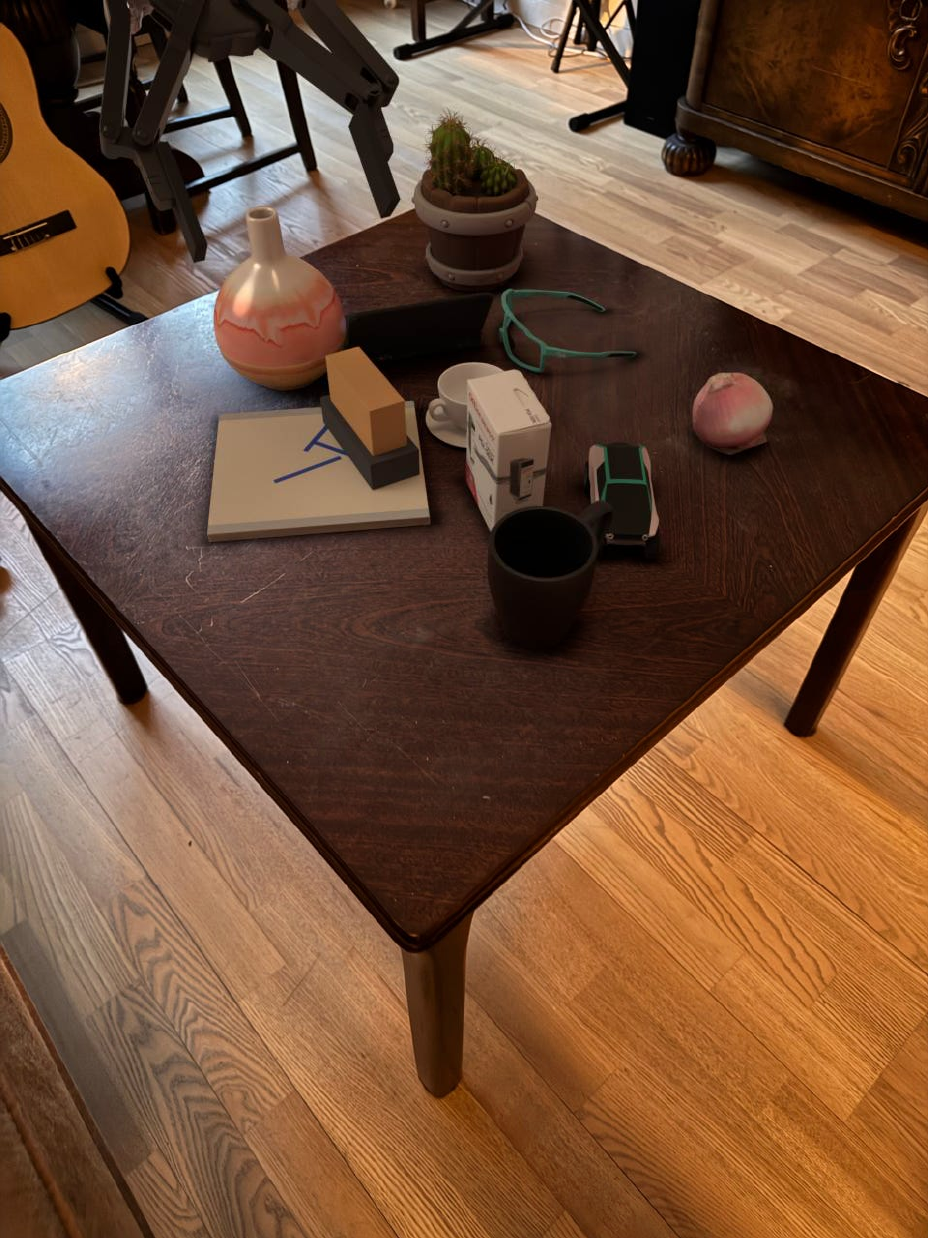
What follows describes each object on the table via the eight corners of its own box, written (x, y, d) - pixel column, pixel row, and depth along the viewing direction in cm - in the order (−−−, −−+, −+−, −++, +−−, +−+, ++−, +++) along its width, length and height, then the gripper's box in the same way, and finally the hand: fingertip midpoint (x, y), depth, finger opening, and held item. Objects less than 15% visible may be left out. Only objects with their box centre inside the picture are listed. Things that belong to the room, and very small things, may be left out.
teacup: (492, 384, 94) (493, 345, 91) (539, 434, 89) (543, 395, 85) (409, 409, 91) (407, 370, 88) (453, 463, 86) (452, 423, 82)
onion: (701, 408, 92) (716, 348, 86) (773, 430, 89) (793, 369, 84) (675, 450, 87) (690, 389, 82) (751, 474, 85) (771, 412, 79)
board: (209, 542, 78) (206, 533, 77) (221, 421, 90) (219, 413, 89) (430, 524, 80) (429, 516, 79) (413, 408, 92) (413, 400, 91)
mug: (635, 604, 73) (654, 521, 66) (535, 680, 68) (544, 598, 61) (564, 553, 77) (575, 469, 70) (464, 622, 72) (465, 538, 65)
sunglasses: (480, 318, 103) (485, 278, 100) (596, 313, 107) (605, 274, 103) (515, 384, 94) (522, 342, 91) (640, 377, 98) (651, 336, 94)
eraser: (372, 490, 81) (366, 419, 75) (322, 422, 88) (313, 352, 82) (420, 474, 83) (417, 403, 77) (367, 408, 90) (361, 338, 84)
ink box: (463, 480, 84) (463, 374, 75) (510, 470, 85) (516, 365, 76) (492, 540, 79) (497, 433, 70) (543, 528, 80) (553, 422, 71)
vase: (218, 351, 99) (180, 191, 85) (336, 332, 101) (318, 174, 88) (235, 421, 90) (196, 256, 77) (363, 398, 93) (347, 234, 79)
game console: (459, 307, 105) (460, 233, 98) (494, 368, 96) (497, 292, 90) (333, 326, 102) (324, 251, 95) (356, 391, 94) (348, 314, 87)
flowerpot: (497, 236, 117) (503, 68, 102) (553, 288, 108) (568, 112, 93) (398, 258, 113) (388, 86, 98) (446, 314, 104) (444, 134, 89)
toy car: (643, 477, 84) (652, 432, 80) (656, 565, 77) (667, 520, 72) (582, 475, 85) (588, 430, 80) (589, 563, 77) (596, 518, 73)
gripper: (344, -76, 63) (445, 214, 66) (-17, -34, 55) (114, 295, 58) (370, -163, 56) (481, 166, 59) (-41, -129, 48) (109, 250, 51)
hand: (299, 231), depth 58 cm, fingers open, 13 cm apart
